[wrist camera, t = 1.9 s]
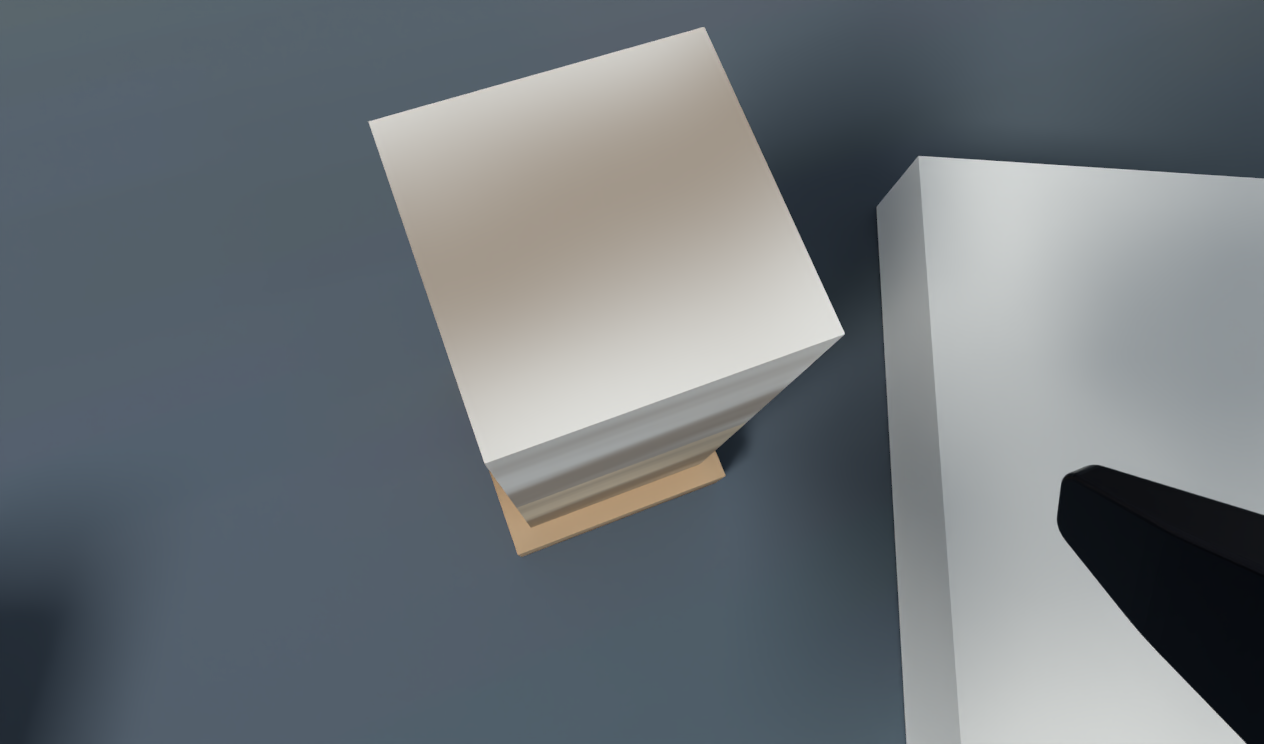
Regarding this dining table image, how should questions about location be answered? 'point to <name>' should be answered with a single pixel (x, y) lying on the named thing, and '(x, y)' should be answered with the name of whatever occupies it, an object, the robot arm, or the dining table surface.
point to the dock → (1057, 428)
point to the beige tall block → (605, 277)
